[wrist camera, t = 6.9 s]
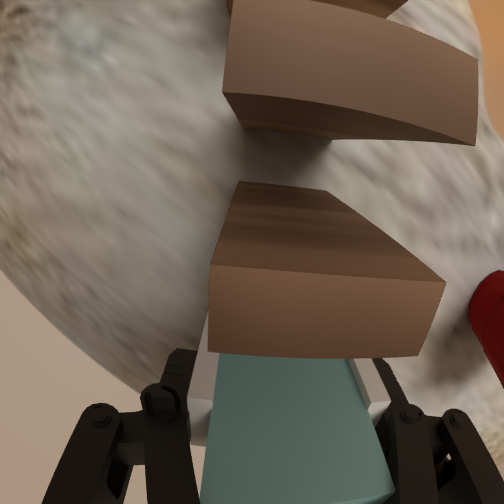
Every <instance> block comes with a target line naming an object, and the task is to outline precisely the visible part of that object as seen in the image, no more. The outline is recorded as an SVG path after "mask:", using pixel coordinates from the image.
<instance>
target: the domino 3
mask: <svg viewBox="0 0 504 504" xmlns="http://www.w3.org/2000/svg"><path fill="white" fill-rule="evenodd" d="M394 492H395V487H394V484H393V481H392V478H391V475H390V472H389V469H388V466H387V463H386V460H385V457H384V454H383V451H382V448H381V445H380V443H379V440H378V437H377V434H376V431H375V428H374V426H373V423H372V420H371V417H370V414H369V412H368V411H367V409H366V406H365V403H364V401H363V398H362V395H361V392H360V390H359V387H358V384H357V382H356V379H355V377H354V374H353V371H352V369H351V366H350V364H349V361H348V359H313V358H283V357H264V356H249V355H236V354H225V353H220V357H219V364H218V371H217V378H216V385H215V393H214V400H213V407H212V409H211V415H210V422H209V429H208V437H207V444H206V452H205V460H204V467H203V475H202V484H201V491H200V499H199V500H200V504H383V503H384V502H385V501H386V500H387V499H388V498H389V497H390V496H391V495H392V494H393V493H394Z"/></svg>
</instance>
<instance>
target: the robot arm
mask: <svg viewBox="0 0 504 504" xmlns="http://www.w3.org/2000/svg"><path fill="white" fill-rule="evenodd" d="M207 349H208V313H207V317H206V321H205V325H204V329H203V333H202V337H201V341H200V345H199V349H198V351H195V350H187V349H179V348H177V349H176V350H175V351H174V352H172V353H171V354H170V355H169V358H168V360H167V363H166V366H165V369H164V373H163V375H162V378H161V380H160V383H155V384H152V385H149V386H147V387H146V388H145V389H144V390H143V391H142V393H141V396H140V400H141V404H142V409H143V410H141V411H137V412H126V413H119V412H118V411H117V409H115V408H114V407H113V406H111V405H109V404H106V403H97V404H92V405H91V406H89V407H87V408H86V409H85V410H84V412H83V413H82V415H81V417H80V419H79V421H78V423H77V425H76V427H75V429H74V431H73V433H72V435H71V437H70V439H69V442H68V444H67V446H66V448H65V450H64V453H63V455H62V457H61V459H60V461H59V463H58V466H57V468H56V470H55V472H54V475H53V477H52V479H51V482H50V484H49V486H48V489H47V491H46V494H45V496H44V499H43V501H42V504H123V502H124V499H125V495H126V490H127V487H128V483H129V480H130V476H131V473H132V469H133V466H134V465H145V475H146V489H147V501H148V504H200V500H199V495H198V490H197V485H196V480H195V474H194V468H193V463H192V456H191V451H190V441H191V445H197V446H205V447H206V444H207V437H208V429H209V422H210V415H211V409H212V407H213V400H214V393H215V385H216V378H217V371H218V364H219V357H220V353H215V352H207ZM348 361H349V364H350V366H351V369H352V371H353V374H354V377H355V379H356V382H357V384H358V387H359V390H360V392H361V395H362V398H363V401H364V403H365V406H366V409H367V411H368V412H369V414H370V417H371V420H372V423H373V426H374V428H375V431H376V434H377V437H378V440H379V443H380V445H381V448H382V451H383V454H384V457H385V460H386V463H387V466H388V469H389V472H390V475H391V478H392V481H393V484H394V487H395V492H394V493H393V494H392V495H391V496H390V497H389V498H388V499H387V500H386V501H385V502H384V503H383V504H504V481H503V479H502V477H501V475H500V473H499V471H498V469H497V467H496V465H495V463H494V461H493V459H492V457H491V455H490V454H489V452H488V450H487V448H486V446H485V444H484V443H483V441H482V439H481V437H480V435H479V434H478V432H477V430H476V428H475V427H474V425H473V423H472V422H471V420H470V418H469V417H468V416H467V414H466V413H465V412H463V411H461V410H459V409H449V410H447V411H446V412H445V413H444V415H443V416H442V417H435V416H426V415H424V412H423V411H422V410H421V409H420V408H419V407H417V406H415V405H413V404H409V402H408V400H407V399H406V397H405V395H404V393H403V391H402V389H401V387H400V385H399V383H398V381H397V379H396V377H395V375H393V371H392V370H391V368H390V366H389V364H388V363H386V362H385V361H384V360H383V359H382V358H361V359H348ZM448 454H449V455H450V457H451V460H448V458H447V455H448Z"/></svg>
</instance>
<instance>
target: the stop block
mask: <svg viewBox="0 0 504 504" xmlns="http://www.w3.org/2000/svg"><path fill="white" fill-rule="evenodd" d="M226 1H227V6H228V11H229V15H232V8H233V1H234V0H226ZM311 1H316V2H322V3H327V4H331V5H336V6H340V7H345V8H349V9H353V10H356V11H360V12H364V13H367V14H371V15H374V16H377V17H380V18H384V19H386V18H387V17H388V16H389V15H391V14H392V13H393V12H394V11H395V10H397V9H398V8H399V7H400V6H402V5H403V4H404V3H406V2H407V1H408V0H311Z"/></svg>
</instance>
